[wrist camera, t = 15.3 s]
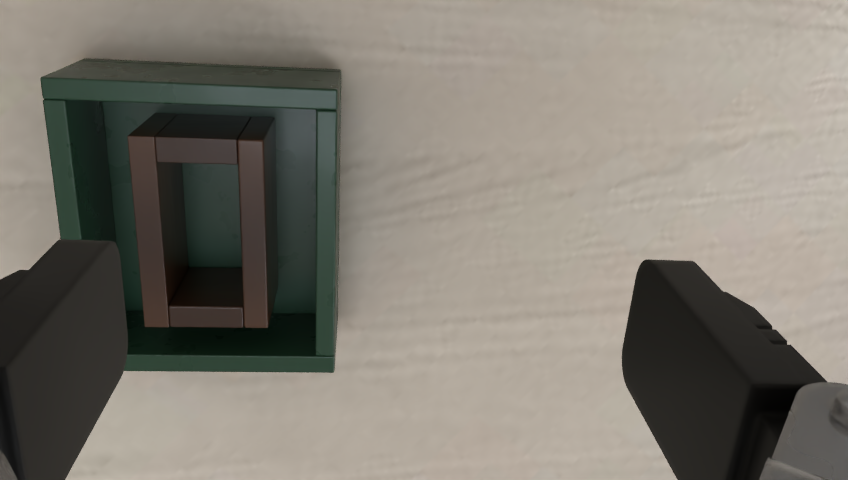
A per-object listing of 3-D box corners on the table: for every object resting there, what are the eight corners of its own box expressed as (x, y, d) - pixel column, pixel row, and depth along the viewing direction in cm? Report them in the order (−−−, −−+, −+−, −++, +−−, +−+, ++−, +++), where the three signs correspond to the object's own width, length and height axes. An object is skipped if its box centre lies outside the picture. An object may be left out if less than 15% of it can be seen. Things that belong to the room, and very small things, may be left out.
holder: (83, 58, 31) (39, 77, 27) (341, 69, 32) (338, 89, 28) (111, 319, 36) (77, 370, 32) (337, 322, 37) (334, 372, 33)
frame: (154, 112, 32) (126, 135, 28) (275, 116, 32) (263, 140, 29) (167, 286, 35) (144, 327, 31) (278, 287, 35) (268, 328, 32)
